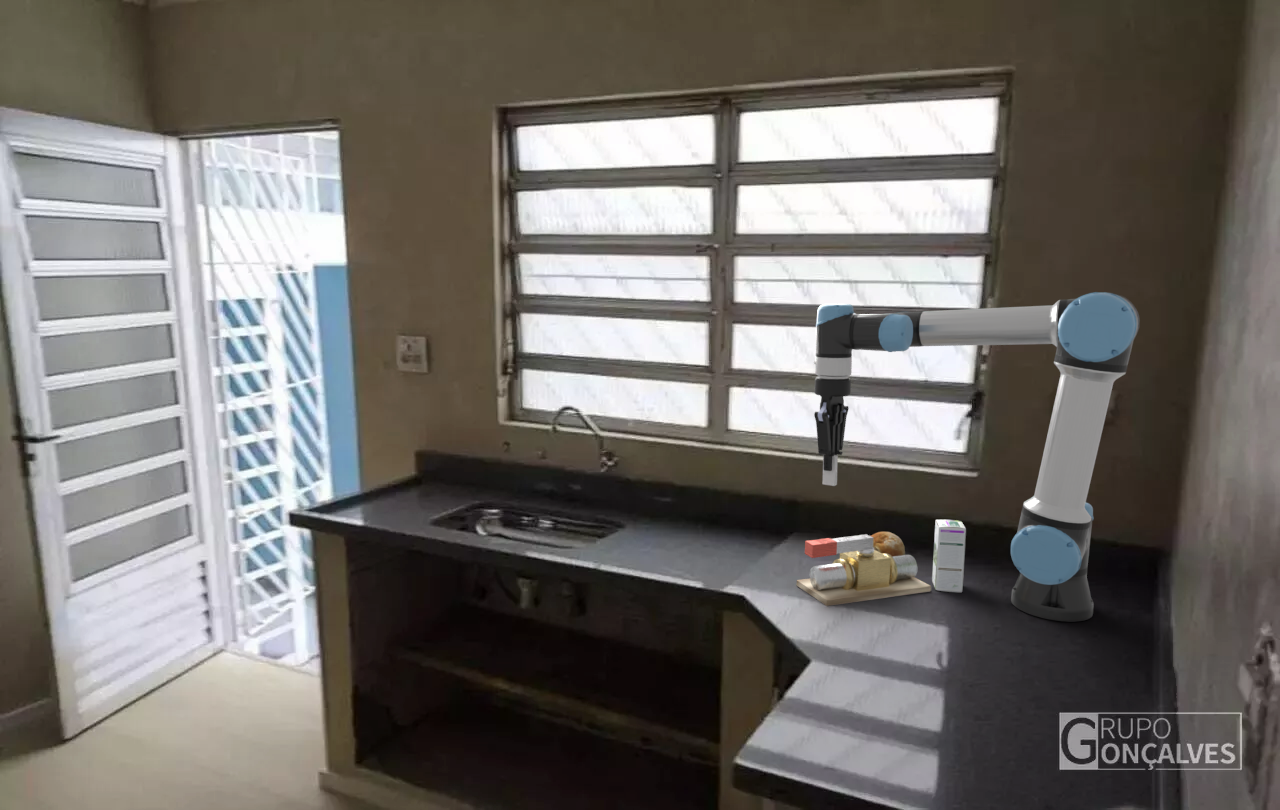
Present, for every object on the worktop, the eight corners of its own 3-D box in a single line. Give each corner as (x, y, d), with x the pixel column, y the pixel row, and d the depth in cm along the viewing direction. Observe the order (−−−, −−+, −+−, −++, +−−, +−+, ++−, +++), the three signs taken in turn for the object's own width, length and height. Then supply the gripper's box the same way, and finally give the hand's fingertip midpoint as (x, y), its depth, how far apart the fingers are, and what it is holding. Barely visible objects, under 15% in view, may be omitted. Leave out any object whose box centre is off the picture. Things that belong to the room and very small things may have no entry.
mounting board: (930, 591, 178) (931, 585, 177) (826, 606, 169) (827, 600, 169) (895, 572, 189) (896, 567, 188) (796, 585, 180) (796, 580, 180)
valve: (899, 575, 186) (901, 544, 185) (919, 586, 179) (921, 554, 178) (806, 587, 178) (808, 555, 177) (824, 599, 171) (826, 565, 170)
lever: (866, 550, 180) (867, 532, 179) (877, 555, 177) (878, 537, 176) (803, 558, 174) (804, 540, 173) (813, 564, 170) (813, 545, 170)
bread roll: (901, 579, 195) (918, 550, 194) (863, 560, 194) (880, 531, 193) (890, 564, 205) (906, 536, 204) (853, 546, 204) (869, 518, 203)
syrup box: (963, 593, 177) (968, 527, 175) (934, 590, 178) (938, 525, 176) (958, 583, 182) (963, 520, 180) (930, 581, 184) (934, 518, 181)
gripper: (828, 373, 183) (825, 476, 187) (803, 378, 173) (800, 487, 176) (861, 375, 179) (857, 481, 182) (837, 380, 169) (833, 493, 172)
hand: (829, 484), depth 179 cm, fingers closed
